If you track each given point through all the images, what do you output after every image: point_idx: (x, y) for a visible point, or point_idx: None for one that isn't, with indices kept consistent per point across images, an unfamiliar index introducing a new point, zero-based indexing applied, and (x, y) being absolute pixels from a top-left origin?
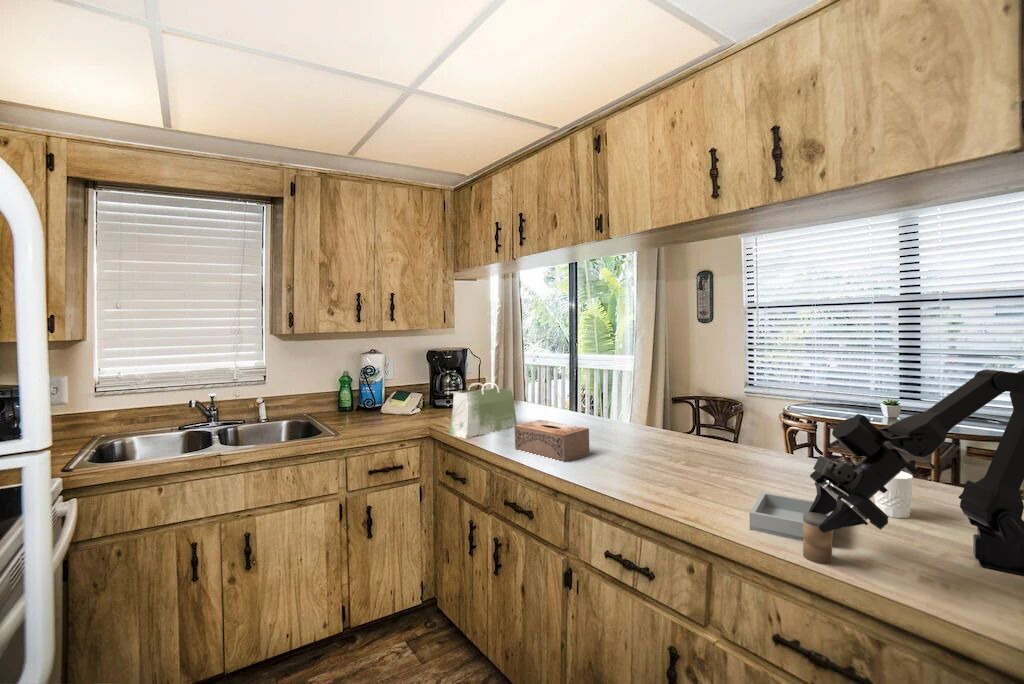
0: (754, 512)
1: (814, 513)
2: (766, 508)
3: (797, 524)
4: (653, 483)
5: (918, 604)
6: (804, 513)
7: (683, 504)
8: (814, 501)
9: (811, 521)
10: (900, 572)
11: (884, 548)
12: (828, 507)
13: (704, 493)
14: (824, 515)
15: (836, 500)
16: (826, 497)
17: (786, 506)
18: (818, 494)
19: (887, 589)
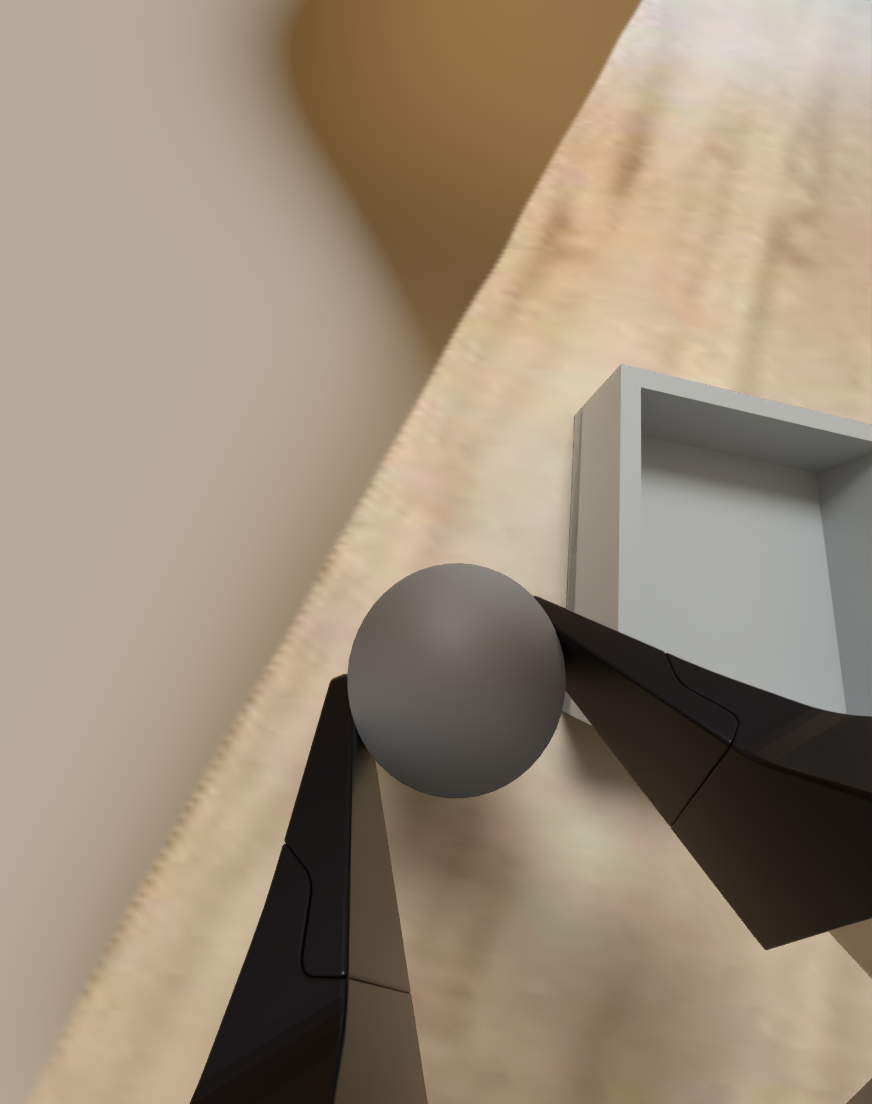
0: (631, 384)
1: (539, 654)
2: (793, 474)
3: (609, 570)
4: (798, 145)
5: (86, 1084)
6: (499, 576)
7: (675, 221)
8: (682, 667)
9: (363, 622)
10: (426, 1012)
11: (666, 948)
12: (667, 791)
13: (814, 286)
14: (528, 735)
15: (804, 935)
16: (782, 829)
17: (846, 545)
18: (806, 731)
19: (207, 937)
